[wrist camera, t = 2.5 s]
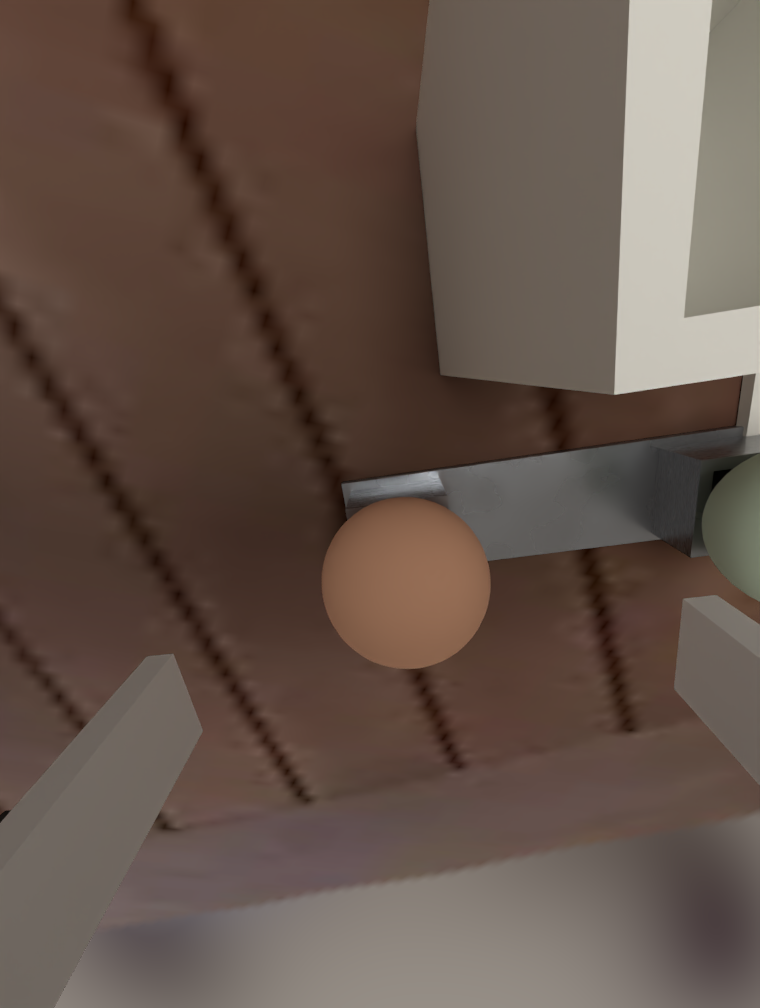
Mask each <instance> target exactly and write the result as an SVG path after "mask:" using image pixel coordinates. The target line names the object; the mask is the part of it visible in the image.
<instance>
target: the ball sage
mask: <svg viewBox="0 0 760 1008" xmlns="http://www.w3.org/2000/svg"><path fill="white" fill-rule="evenodd" d="M702 534H703V540H704V544H705V547H706V549H707V552H708V554H709V556H710V558H711V560H712V561H713V562H714V564H715V565H716V567H717V568H718V569H719V571H720V572H721V573H722V574H723V575H724V576H725V577H726V578H727V579H728V580H729V581H730V582H731V583H732V584H733V585H734V586H736V587H737V588H739V589H740V590H741V591H743V592H744V593H746V594H747V595H749V596H750V597H752V598H754V599H756V600H758V601H760V453H759V454H757V455H755V456H753V457H751V458H749V459H747V460H746V461H744V462H742V463H741V464H739V465H738V466H736V467H735V468H733V469H732V470H731V471H730V472H729V473H727V474H726V475H725V476H724V477H723V478H722V479H721V481H720V482H719V483H718V484H717V485H716V486H715V488H714V489H713V491H712V492H711V494H710V496H709V498H708V500H707V502H706V505H705V508H704V511H703V516H702Z"/></svg>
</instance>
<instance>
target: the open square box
mask: <svg viewBox="0 0 760 1008" xmlns="http://www.w3.org/2000/svg"><path fill="white" fill-rule="evenodd" d="M416 134H417V144H418V155H419V165H420V175H421V185H422V195H423V205H424V215H425V225H426V236H427V246H428V256H429V266H430V276H431V286H432V296H433V306H434V317H435V327H436V337H437V347H438V357H439V367H440V375H444V376H453V377H462V378H471V379H480V380H488V381H497V382H506V383H515V384H524V385H532V386H541V387H550V388H559V389H567V390H576V391H585V392H594V393H603V394H611V395H616V394H623V393H629V392H636V391H643V390H649V389H656V388H662V387H669V386H676V385H682V384H689V383H695V382H702V381H709V380H715V379H722V378H728V377H735V376H742V375H748V374H755V373H760V0H430V1H429V11H428V20H427V29H426V38H425V48H424V57H423V66H422V76H421V85H420V94H419V104H418V113H417V122H416Z"/></svg>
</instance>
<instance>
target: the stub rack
mask: <svg viewBox="0 0 760 1008" xmlns="http://www.w3.org/2000/svg"><path fill="white" fill-rule="evenodd" d="M743 429H744V427H742V426H729V427H722V428H715V429H708V430H701V431H694V432H687V433H680V434H673V435H666V436H659V437H652V438H645V439H638V440H631V441H624V442H617V443H610V444H603V445H596V446H589V447H582V448H575V449H568V450H561V451H554V452H547V453H540V454H533V455H526V456H519V457H512V458H505V459H498V460H492V461H485V462H478V463H471V464H464V465H457V466H450V467H443V468H436V469H429V470H422V471H415V472H408V473H401V474H394V475H387V476H380V477H373V478H366V479H359V480H352V481H345V482H342V484H341V485H342V490H343V495H344V500H345V506H346V509H345V511H346V516H347V520H348V519H349V518H351V517H352V516H353V515H354V514H355V513H357V512H358V511H360V510H361V509H363V508H364V507H366V506H368V505H370V504H373V503H375V502H378V501H381V500H385V499H390V498H397V497H415V498H420V499H426V500H429V501H432V502H435V503H437V504H440V505H442V506H444V507H446V508H447V509H449V510H450V511H452V512H454V513H455V514H456V515H457V516H459V517H460V518H461V519H462V520H463V521H464V522H465V523H466V524H467V525H468V526H469V527H470V528H471V529H472V531H473V532H474V534H475V535H476V537H477V538H478V540H479V541H480V543H481V545H482V547H483V550H484V552H485V555H486V558H487V561H491V560H499V559H507V558H515V557H523V556H531V555H539V554H547V553H555V552H563V551H571V550H579V549H587V548H595V547H603V546H611V545H619V544H627V543H635V542H643V541H651V540H659V539H662V540H663V541H665V542H666V543H668V544H670V545H671V546H673V547H674V548H676V549H678V550H679V551H681V552H682V553H684V554H686V555H687V556H689V557H690V558H692V557H700V556H708V555H709V554H708V552H707V549H706V547H705V544H704V540H703V534H702V516H703V511H704V508H705V505H706V502H707V500H708V498H709V496H710V494H711V492H712V491H713V489H714V488H715V486H716V485H717V484H718V483H719V482H720V481H721V479H722V478H723V477H724V476H725V475H726V474H727V473H729V472H730V471H731V470H732V469H733V468H735V467H736V466H738V465H739V464H741V463H742V462H744V461H746V460H747V459H749V458H751V457H753V456H755V455H757V454H759V453H760V435H754V436H747V437H746V436H743Z"/></svg>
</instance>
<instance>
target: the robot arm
mask: <svg viewBox="0 0 760 1008" xmlns="http://www.w3.org/2000/svg"><path fill="white" fill-rule="evenodd" d="M674 689H675V690H676V692H677V693H678V694H679V695H680V696H681V697H682V698H683V699H684V701H685V702H686V703H687V704H688V705H689V706H690V707H691V708H692V710H693V711H694V712H695V713H696V714H697V715H698V716H699V717H700V719H701V720H702V721H703V722H704V723H705V724H706V725H707V726H708V728H709V729H710V730H711V731H712V732H713V733H714V734H715V735H716V737H717V738H718V739H719V740H720V741H721V742H722V743H723V744H724V746H725V747H726V748H727V749H728V750H729V751H730V752H731V753H732V755H733V756H734V757H735V758H736V759H737V760H738V761H739V762H740V764H741V765H742V766H743V767H744V768H745V769H746V770H747V771H748V773H749V774H750V775H751V776H752V777H753V778H754V779H755V781H756V782H757V783H758V784H759V785H760V625H759V624H758V623H756V622H755V621H753V620H752V619H750V618H749V617H748V616H746V615H745V614H743V613H742V612H740V611H739V610H737V609H736V608H734V607H733V606H732V605H730V604H729V603H727V602H726V601H724V600H723V599H721V598H720V597H718V596H717V595H713V596H704V597H695V598H685V599H683V605H682V615H681V624H680V634H679V644H678V654H677V664H676V674H675V684H674ZM202 732H203V730H202V727H201V724H200V722H199V719H198V717H197V714H196V711H195V709H194V706H193V704H192V701H191V698H190V696H189V693H188V691H187V688H186V685H185V683H184V680H183V678H182V675H181V672H180V670H179V667H178V664H177V662H176V659H175V657H174V654H164V655H155V656H147V657H146V658H145V659H144V660H143V661H142V662H141V664H140V665H139V666H138V667H137V668H136V669H135V670H134V671H133V673H132V674H131V675H130V676H129V677H128V678H127V679H126V681H125V682H124V683H123V684H122V685H121V686H120V687H119V689H118V690H117V691H116V692H115V693H114V694H113V695H112V696H111V698H110V699H109V700H108V701H107V702H106V703H105V704H104V706H103V707H102V708H101V709H100V710H99V711H98V712H97V714H96V715H95V716H94V717H93V718H92V719H91V720H90V721H89V723H88V724H87V725H86V726H85V727H84V728H83V729H82V731H81V732H80V733H79V734H78V735H77V736H76V737H75V739H74V740H73V741H72V742H71V743H70V744H69V745H68V746H67V748H66V749H65V750H64V751H63V752H62V753H61V754H60V756H59V757H58V758H57V759H56V760H55V761H54V762H53V764H52V765H51V766H50V767H49V768H48V769H47V770H46V771H45V773H44V774H43V775H42V776H41V777H40V778H39V779H38V781H37V782H36V783H35V784H34V785H33V786H32V787H31V789H30V790H29V791H28V792H27V793H26V794H25V795H24V796H23V798H22V799H21V800H20V801H19V802H18V803H17V804H16V806H15V807H14V808H13V809H12V810H10V811H5V812H3V813H2V814H1V815H0V1008H54V1007H55V1005H56V1003H57V1001H58V999H59V998H60V996H61V994H62V992H63V990H64V988H65V987H66V985H67V983H68V981H69V979H70V977H71V975H72V973H73V972H74V970H75V968H76V966H77V964H78V962H79V960H80V959H81V957H82V955H83V953H84V951H85V949H86V947H87V946H88V944H89V942H90V940H91V938H92V936H93V934H94V933H95V931H96V929H97V927H98V925H99V923H100V921H101V920H102V918H103V916H104V914H105V912H106V910H107V908H108V907H109V905H110V903H111V901H112V899H113V897H114V895H115V894H116V892H117V890H118V888H119V886H120V884H121V882H122V881H123V879H124V877H125V875H126V873H127V871H128V869H129V868H130V866H131V864H132V862H133V860H134V858H135V856H136V855H137V853H138V851H139V849H140V847H141V845H142V843H143V842H144V840H145V838H146V836H147V834H148V832H149V830H150V829H151V827H152V825H153V823H154V821H155V819H156V817H157V816H158V814H159V812H160V810H161V808H162V806H163V804H164V803H165V801H166V799H167V797H168V795H169V793H170V791H171V790H172V788H173V786H174V784H175V782H176V780H177V778H178V777H179V775H180V773H181V771H182V769H183V767H184V765H185V764H186V762H187V760H188V758H189V756H190V754H191V752H192V750H193V749H194V747H195V745H196V743H197V741H198V739H199V737H200V736H201V734H202Z"/></svg>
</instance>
